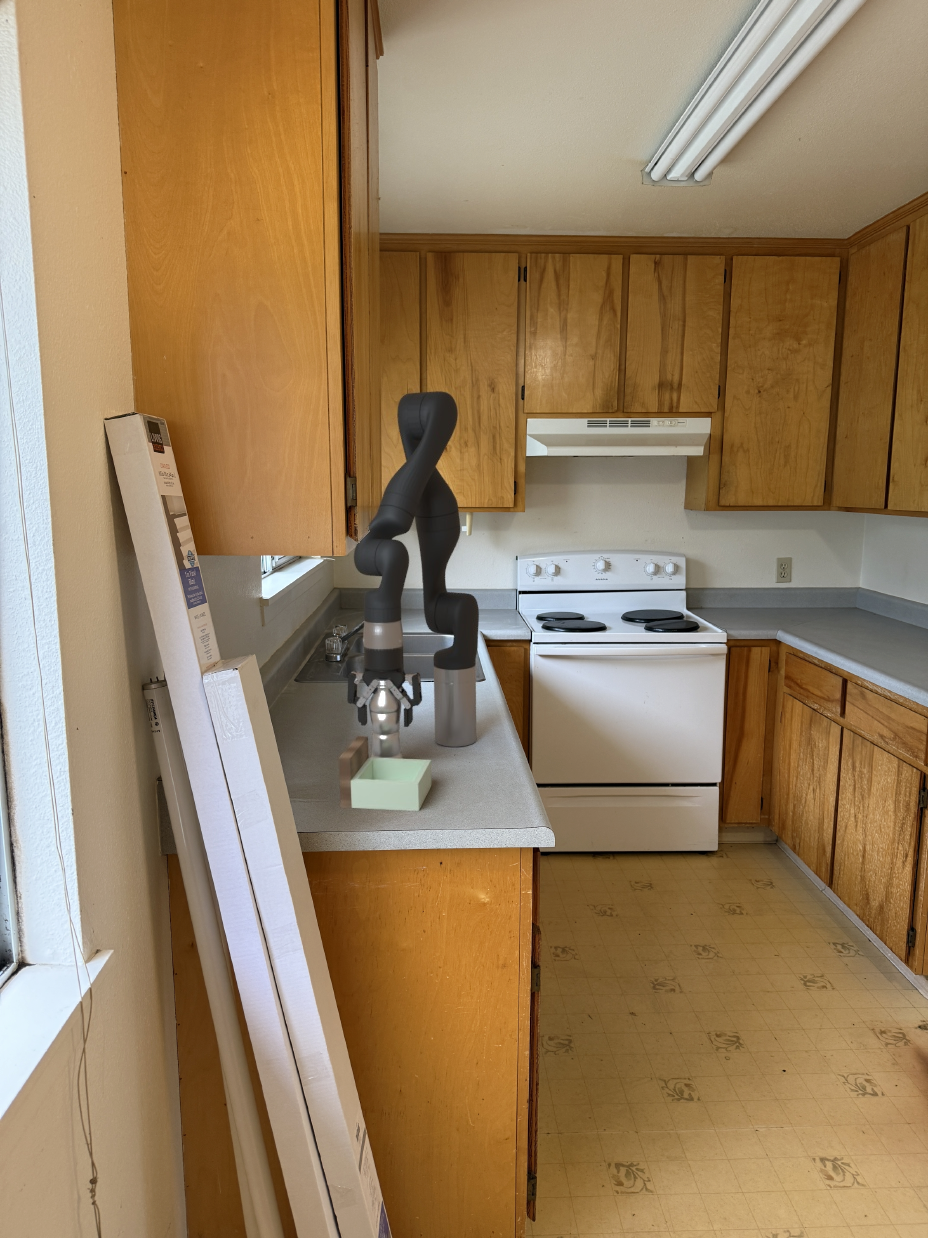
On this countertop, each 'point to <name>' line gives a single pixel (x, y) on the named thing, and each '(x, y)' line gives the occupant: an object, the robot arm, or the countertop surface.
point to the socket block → (391, 784)
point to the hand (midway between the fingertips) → (385, 725)
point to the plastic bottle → (385, 723)
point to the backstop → (351, 767)
